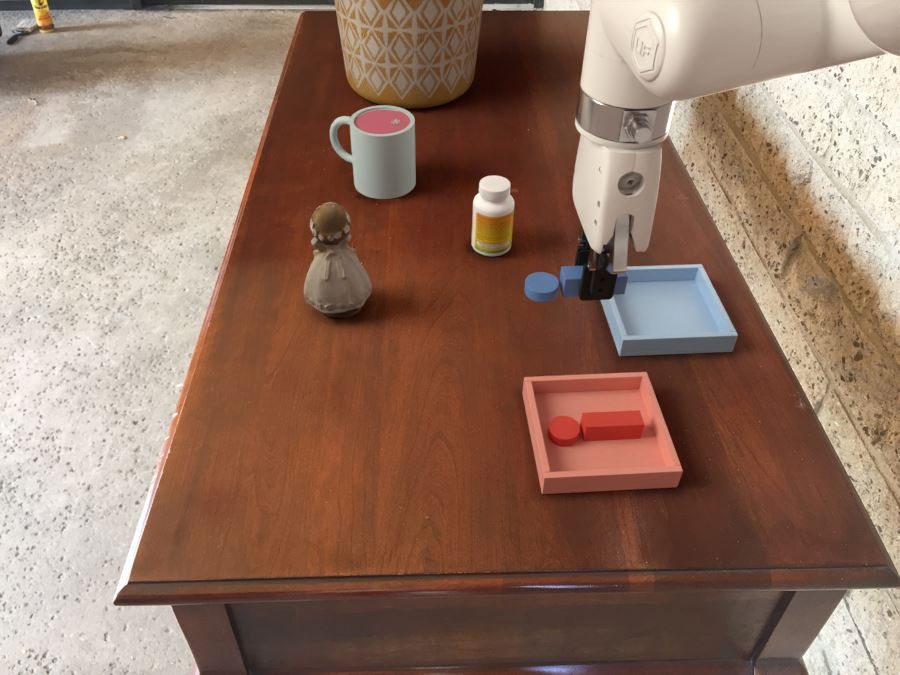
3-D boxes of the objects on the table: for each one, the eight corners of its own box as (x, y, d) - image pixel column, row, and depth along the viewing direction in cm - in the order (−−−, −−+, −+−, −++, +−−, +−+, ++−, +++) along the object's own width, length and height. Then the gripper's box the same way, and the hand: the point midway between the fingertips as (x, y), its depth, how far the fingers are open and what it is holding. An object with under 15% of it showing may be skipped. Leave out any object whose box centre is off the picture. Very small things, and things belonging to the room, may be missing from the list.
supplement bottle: (517, 252, 104) (523, 189, 97) (480, 261, 102) (484, 198, 96) (501, 230, 107) (505, 168, 101) (465, 238, 106) (467, 176, 99)
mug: (426, 175, 118) (426, 114, 111) (396, 205, 112) (393, 142, 105) (350, 153, 122) (345, 93, 116) (316, 181, 116) (309, 119, 109)
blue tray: (732, 351, 90) (738, 335, 89) (619, 356, 89) (622, 339, 88) (697, 280, 100) (701, 263, 98) (594, 283, 99) (597, 267, 98)
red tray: (677, 487, 76) (683, 471, 74) (541, 494, 75) (544, 478, 73) (642, 388, 86) (646, 371, 84) (522, 393, 85) (524, 376, 83)
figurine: (365, 286, 98) (357, 182, 88) (377, 320, 93) (371, 215, 83) (301, 297, 96) (286, 193, 86) (311, 333, 92) (296, 227, 81)
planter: (322, 111, 132) (309, -23, 118) (355, 50, 151) (347, -73, 137) (474, 123, 130) (480, -13, 116) (488, 59, 149) (495, -64, 134)
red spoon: (642, 443, 79) (646, 429, 78) (550, 447, 79) (552, 433, 77) (634, 419, 82) (638, 405, 80) (545, 423, 81) (547, 409, 80)
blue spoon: (626, 298, 74) (630, 280, 72) (527, 303, 73) (529, 285, 71) (617, 277, 76) (621, 259, 74) (521, 282, 75) (523, 264, 74)
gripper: (702, 159, 57) (653, 343, 69) (643, 66, 68) (610, 239, 81) (601, 162, 56) (570, 348, 68) (558, 68, 68) (538, 242, 80)
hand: (592, 287), depth 74 cm, fingers closed on blue spoon, 2 cm apart
